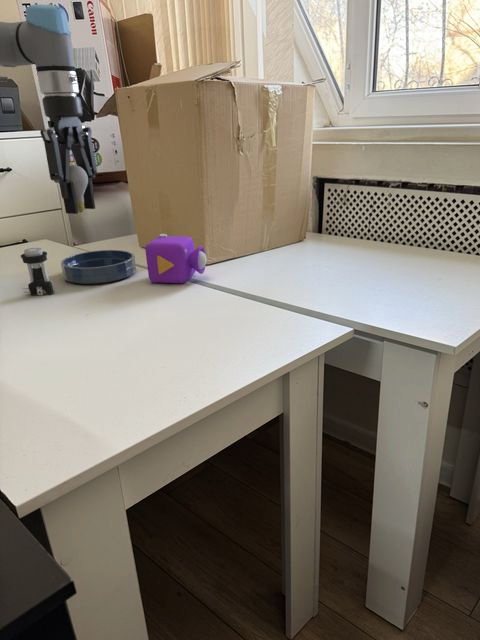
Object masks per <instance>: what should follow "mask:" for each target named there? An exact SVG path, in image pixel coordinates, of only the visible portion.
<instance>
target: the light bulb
mask: <svg viewBox="0 0 480 640" xmlns="http://www.w3.org/2000/svg"><path fill="white" fill-rule="evenodd" d="M63 176H64V175H63ZM69 182H73V186H74V191H75V197H76V203H77V208H78V213H83V212H84V211H85V210H86V209H85V208H84V207H85V206H84V192H85V190H86V187H87V184H88V176H87V174H86V172H85V170H84V169H83V168H81V167H79V166H77V164H75V165H74V164H71V165H70V181H69Z"/></svg>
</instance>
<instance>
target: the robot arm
mask: <svg viewBox="0 0 480 640" xmlns="http://www.w3.org/2000/svg"><path fill="white" fill-rule="evenodd" d="M30 65H31V66H32V65H35V70H36V75H37V81H38V86H39V92H40V94H41V95H43V97H42V101H41V102H42V106H43V111H44V115H45V117H46V118H49V125H48V126H49V127H48V128H46V129H41V130H40V132H39V133H40V136H41V139H42V141H43V145H44V150H45V156H46V162H47V167H48V173H49V178H50V180H51V181H53V182H54V183H55V184H56V183H58V184H59V190H60V195H61V198H62V200H63V205H64V210H65V214H67V215H68V214H69V215H70V214H72V215H77V214H79V211H78V208H77V203H76V197H75V191H74V186H73V182H69V181H70V166H71V165H70V164H71V162H70V161H71V160H70V159H71V158H70V156H71V155H70V154H71V153H72V155H73V158H74V159H73V160H74V162H75V165H76V166H79V167H81V168H83V169H84V170H85V172H86V174H87V176H88V184H87V187H86V190H85V192H84V206H85V207H84V208H85V210H87V209H88V210H94V209H95V210H96V203H95V197H94V186H93V180H92V179H96V175H98V169H97V163H96V158H95V152H94V146H93V140H92V130H93V129H92V128H91V127H90V126H84V125H83V123H82V121H81V118H80V117H82V116H83V115H84V113H83V112H84V111H83V106H82V100H81V98H80V96H78V94H79V93H80V89H79V83H78V82H79V81H78V77H77V70H76V69H77V68H76V64H75V57H74V51H73V43H72V32H71V29H70V25H69V21H68V16H67V13H66V11H65V10H64V8H62V7H61V6H58V5H53V4H31V5H29V6H27V7H26V8H25V20H23V21H15V22H6V21H0V67H1V68H2V67H4V68H17V67H22V66H23V67H24V66H30ZM70 151H71V153H70ZM63 175H64V176H63Z"/></svg>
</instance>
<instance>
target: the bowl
mask: <svg viewBox="0 0 480 640" xmlns="http://www.w3.org/2000/svg"><path fill="white" fill-rule="evenodd" d="M135 258H136V257H135V254H134V253H133V252H131V251H127V250H121V249H101V250H92V251H91V250H90V251H85V252H80V253H77V254H73V255H70V256H67V257H65V258H63V259H62V260H61V261H60V267H61V271H62V272H61V273H62V276H63V279H64V280H65V281H67V282H71V283H75V284H79V285H100V284H107V283H112V282H118V281H120V280H123V279H125V278H127V277H129V276H132V275H134V274H135V272H136V271H137V267H136V260H135Z"/></svg>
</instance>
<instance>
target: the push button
mask: <svg viewBox="0 0 480 640" xmlns="http://www.w3.org/2000/svg"><path fill="white" fill-rule="evenodd" d="M23 252H24V253H22V254H20V258H21V260H22V263H23V264H26V266H27V269H28V275H29V278H30V279H29V284H28V285H27V287H22V288H21V289H22V290H28V291H23V292H22V294H30V295H31V296H44V295H45V296H47V295H48V296H50V295H52V294H53V293H54V291H55V288H54V283H53V280H50V278H49V276H48V272H47V266H46V263H45V262H46V261H48V258H47V256H48V252H47V251H43V248H42V247H30V248H26V249H24V250H23Z"/></svg>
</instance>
